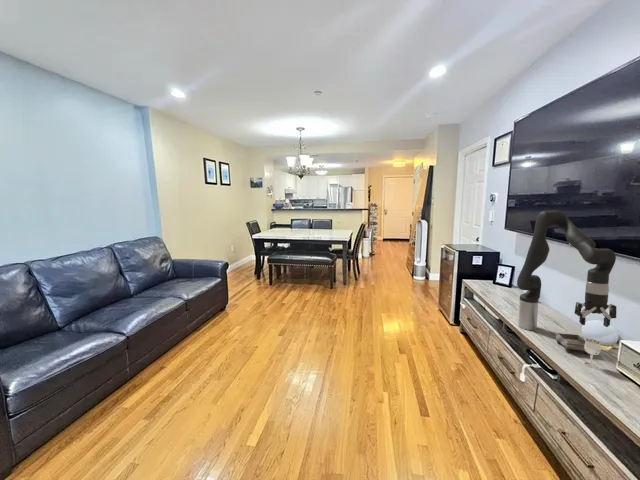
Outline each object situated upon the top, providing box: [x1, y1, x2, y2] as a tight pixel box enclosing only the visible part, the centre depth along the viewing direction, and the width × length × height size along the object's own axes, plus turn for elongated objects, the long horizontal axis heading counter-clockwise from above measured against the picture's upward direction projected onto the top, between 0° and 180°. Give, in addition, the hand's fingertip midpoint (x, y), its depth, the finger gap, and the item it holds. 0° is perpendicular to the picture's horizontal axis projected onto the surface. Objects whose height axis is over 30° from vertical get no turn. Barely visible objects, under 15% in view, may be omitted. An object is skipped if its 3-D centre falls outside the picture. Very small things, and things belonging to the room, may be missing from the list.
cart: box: [555, 332, 590, 355], centre depth 146 cm, size 12×10×5 cm
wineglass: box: [583, 338, 602, 369], centre depth 131 cm, size 6×6×12 cm
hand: (594, 325), depth 129 cm, fingers open, 8 cm apart
